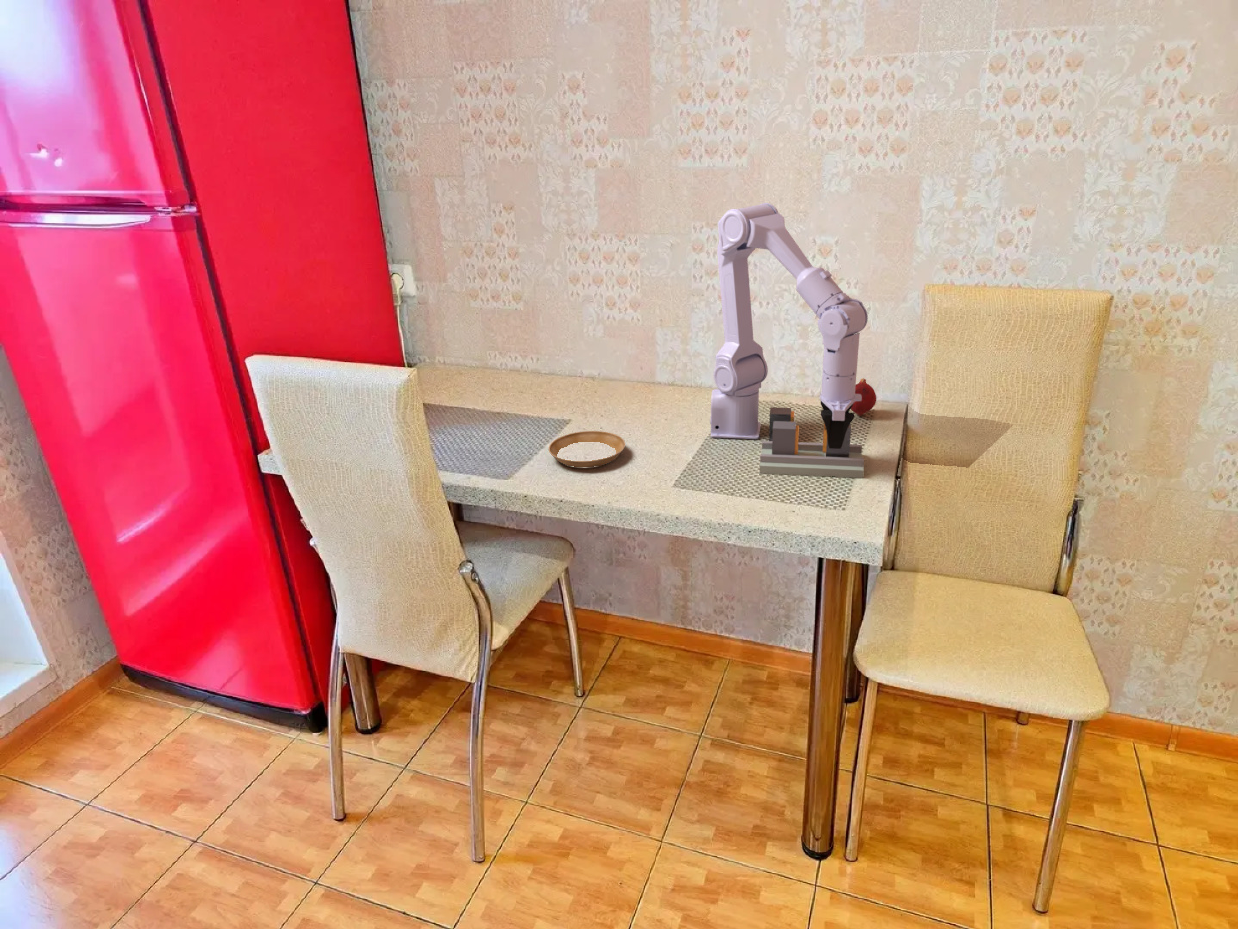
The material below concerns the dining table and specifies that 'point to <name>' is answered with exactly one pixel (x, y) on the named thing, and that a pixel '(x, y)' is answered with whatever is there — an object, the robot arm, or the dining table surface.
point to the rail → (805, 456)
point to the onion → (864, 398)
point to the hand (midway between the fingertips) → (834, 443)
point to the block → (779, 417)
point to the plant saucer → (587, 436)
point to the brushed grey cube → (837, 452)
